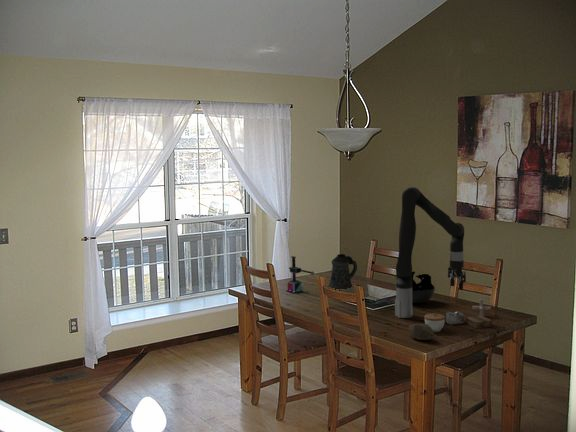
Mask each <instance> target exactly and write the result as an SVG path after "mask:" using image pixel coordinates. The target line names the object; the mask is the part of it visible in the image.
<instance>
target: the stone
mask: <svg viewBox="0 0 576 432" xmlns="http://www.w3.org/2000/svg"><path fill="white" fill-rule="evenodd" d="M407 328H408V331H409V334H410V335H411V337H412V338H414V339H416V340H419V341H431V340H433V339H434V338H435V336H436V335H435V332H433V330H432V328H431V327H430V326H429V325H427V324H425V323H412V324H410V325H408V327H407Z"/></svg>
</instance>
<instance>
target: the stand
mask: <svg viewBox="0 0 576 432" xmlns="http://www.w3.org/2000/svg"><path fill="white" fill-rule="evenodd" d="M463 324H465V325H468V326H470V327H472V328H474V329H481V328H482V329H483V328H490V327H495V326H494V324H493V320H492V319H490V318H487V317H486V316H484V315H483V316H480V315H477V316H468V317H465V321H464V323H463Z"/></svg>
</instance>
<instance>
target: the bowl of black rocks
mask: <svg viewBox="0 0 576 432" xmlns="http://www.w3.org/2000/svg"><path fill="white" fill-rule="evenodd" d="M415 274H416V271H413V270H412V304H413V303H414V304H424V303H426V302H428V301H429V300H431V299H432V297H433V296H434V293H435V290H436V287H435V285H434V284H433V283H432V275H430V274H429V273H422V274H418V275H415ZM414 275H415V277H416V278H417V279H420V281H419V282H417V281H415V280H414ZM416 282H417V283H416Z"/></svg>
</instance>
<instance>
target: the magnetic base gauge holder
mask: <svg viewBox="0 0 576 432" xmlns="http://www.w3.org/2000/svg"><path fill="white" fill-rule="evenodd" d="M290 258H291V265H292V266H288V269H289V272H290V273H292V280H289V281H287V285H286V286H287V290H285V292H287V293H290V294H298V293H303V292H304V290H303V289H302V288H303V287H302V284H303V283H302V281H300V280H298V279H297V275H296V274H299V273H305V274H306V273H307V274H310V275H314V274H315V271H309V270H305V269H302V268H301V267H298V266H296V258H297V257H296V256H293V255H292V256H290ZM289 290H291V291H289ZM298 290H299V291H298ZM293 291H295V292H293Z"/></svg>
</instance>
